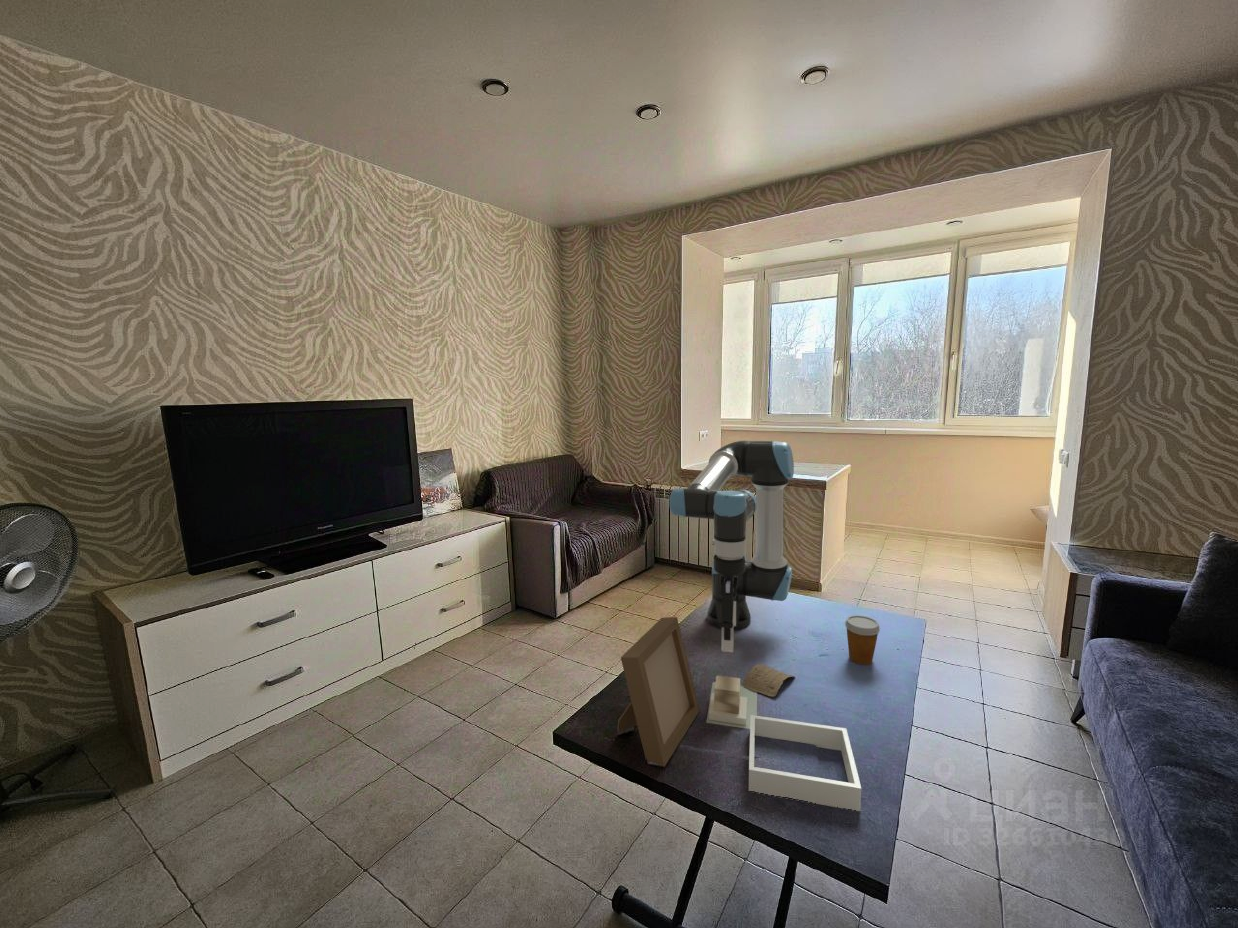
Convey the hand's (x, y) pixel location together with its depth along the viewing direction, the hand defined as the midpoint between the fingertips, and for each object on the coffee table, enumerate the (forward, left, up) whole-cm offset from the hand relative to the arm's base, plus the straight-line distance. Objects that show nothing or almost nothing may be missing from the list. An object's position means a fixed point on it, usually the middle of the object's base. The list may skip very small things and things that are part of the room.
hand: (729, 637), depth 126 cm
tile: (-4, 0, -19) cm, 20 cm away
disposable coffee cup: (-35, +37, -21) cm, 55 cm away
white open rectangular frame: (+16, +16, -21) cm, 30 cm away
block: (0, 0, -18) cm, 18 cm away
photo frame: (+11, -17, -21) cm, 29 cm away
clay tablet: (-16, +10, -20) cm, 28 cm away
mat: (-3, +1, -21) cm, 21 cm away
